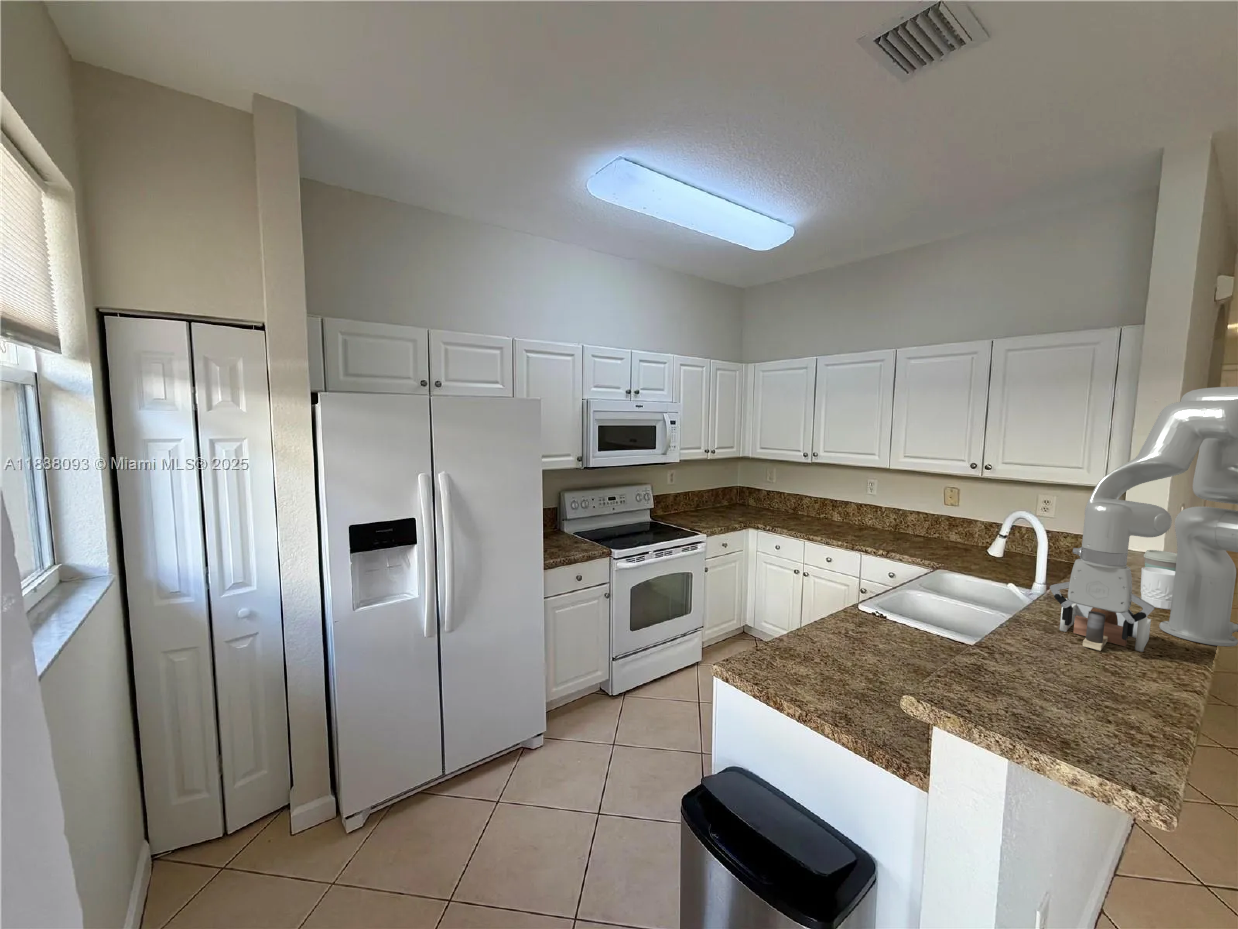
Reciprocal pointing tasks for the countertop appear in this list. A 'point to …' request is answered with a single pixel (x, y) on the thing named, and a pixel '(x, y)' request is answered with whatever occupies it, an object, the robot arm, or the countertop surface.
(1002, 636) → the countertop surface
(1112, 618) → the coconut
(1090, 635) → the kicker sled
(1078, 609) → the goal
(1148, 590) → the white cup
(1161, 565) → the coffee cup
